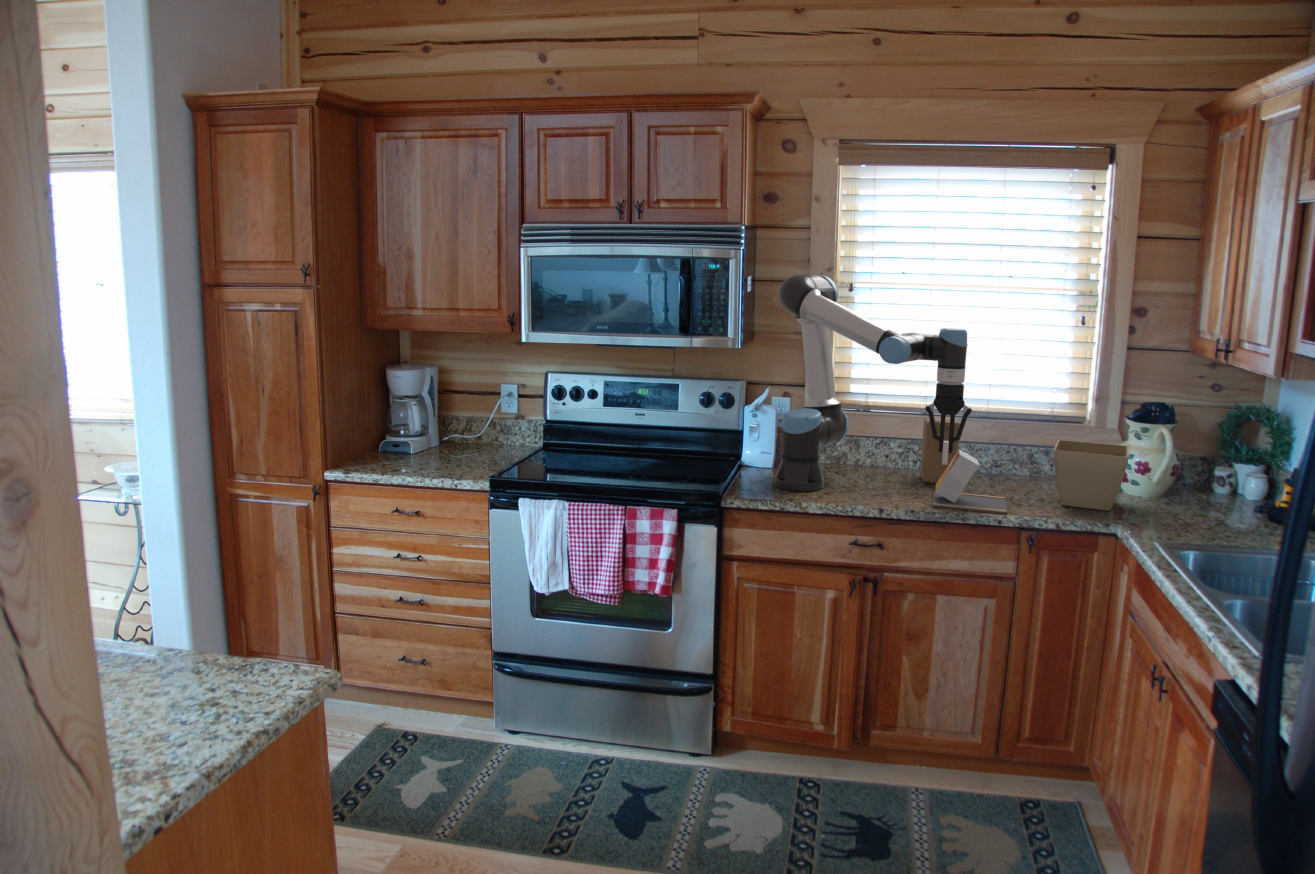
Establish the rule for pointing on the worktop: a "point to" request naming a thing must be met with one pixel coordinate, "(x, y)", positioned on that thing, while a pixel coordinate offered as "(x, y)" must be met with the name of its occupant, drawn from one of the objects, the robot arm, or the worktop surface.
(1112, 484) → the flower pot
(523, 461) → the worktop surface
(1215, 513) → the worktop surface
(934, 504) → the grey flat board
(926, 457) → the wooden block
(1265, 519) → the worktop surface
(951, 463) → the small box
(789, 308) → the robot arm
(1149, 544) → the worktop surface
